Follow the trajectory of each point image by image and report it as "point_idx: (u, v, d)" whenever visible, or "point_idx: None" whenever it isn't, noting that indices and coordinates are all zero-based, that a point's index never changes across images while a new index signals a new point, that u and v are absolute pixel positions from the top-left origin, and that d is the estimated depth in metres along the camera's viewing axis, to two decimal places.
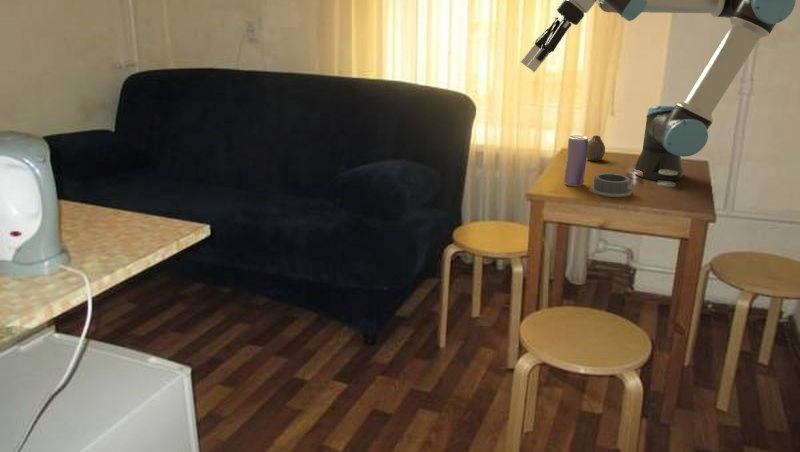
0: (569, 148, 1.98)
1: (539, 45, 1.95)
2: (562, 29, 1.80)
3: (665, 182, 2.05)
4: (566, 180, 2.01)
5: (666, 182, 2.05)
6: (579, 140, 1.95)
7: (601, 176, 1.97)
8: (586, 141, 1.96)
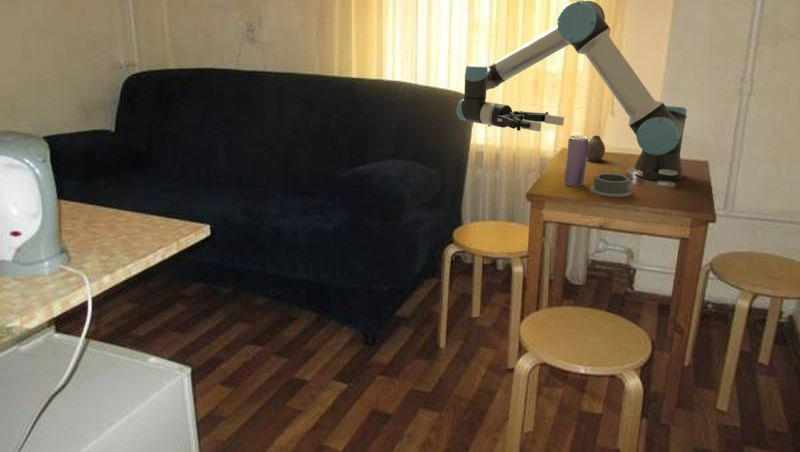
0: (569, 148, 1.98)
1: (544, 117, 2.12)
2: (502, 121, 2.07)
3: (665, 182, 2.05)
4: (566, 180, 2.01)
5: (666, 182, 2.05)
6: (579, 140, 1.95)
7: (601, 176, 1.97)
8: (586, 141, 1.96)
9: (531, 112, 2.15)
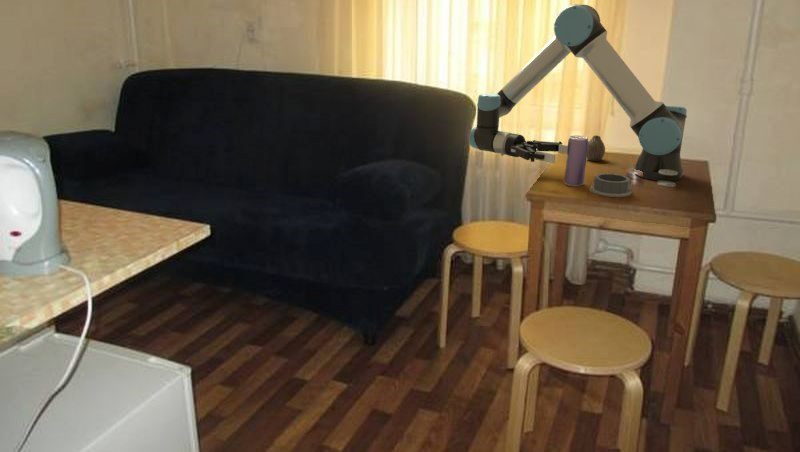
0: (569, 148, 1.98)
1: (558, 147, 2.11)
2: (516, 151, 2.06)
3: (665, 182, 2.05)
4: (566, 180, 2.01)
5: (666, 182, 2.05)
6: (579, 140, 1.95)
7: (601, 176, 1.97)
8: (586, 141, 1.96)
9: (544, 141, 2.14)
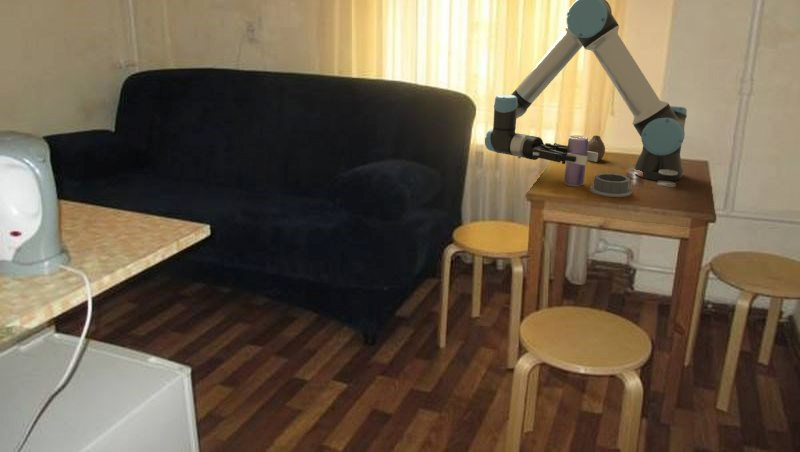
0: (569, 148, 1.97)
1: None
2: (541, 154, 2.01)
3: (665, 182, 2.05)
4: (566, 180, 2.01)
5: (666, 182, 2.05)
6: (579, 140, 1.95)
7: (601, 176, 1.97)
8: (586, 141, 1.96)
9: (564, 145, 2.08)
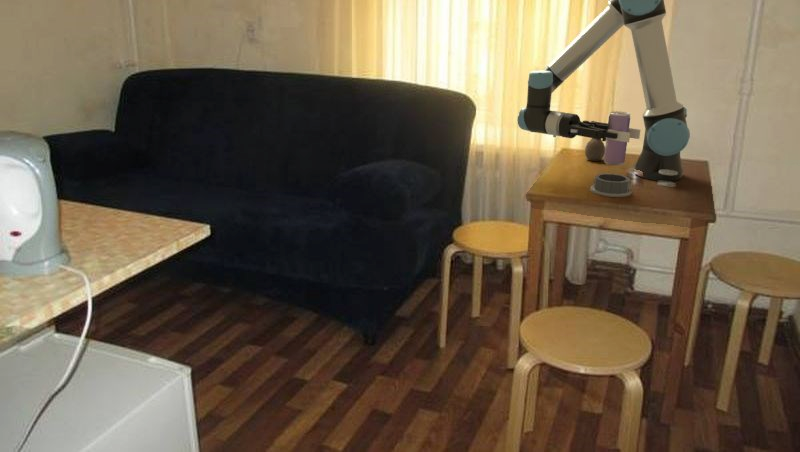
0: (610, 124, 1.87)
1: None
2: (579, 131, 1.91)
3: (665, 182, 2.05)
4: (606, 158, 1.91)
5: (666, 182, 2.05)
6: (621, 116, 1.85)
7: (601, 176, 1.97)
8: (628, 117, 1.86)
9: (603, 123, 1.98)
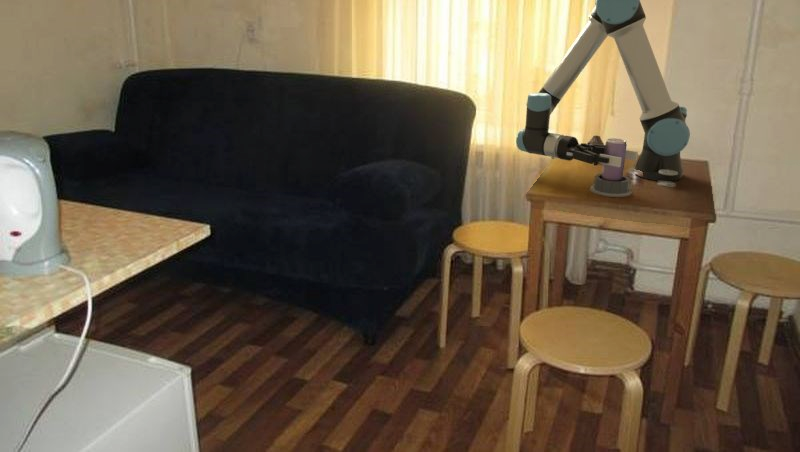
0: (606, 151, 1.90)
1: None
2: (574, 155, 1.93)
3: (665, 182, 2.05)
4: None
5: (666, 182, 2.05)
6: (617, 143, 1.87)
7: (601, 176, 1.97)
8: (624, 144, 1.88)
9: None
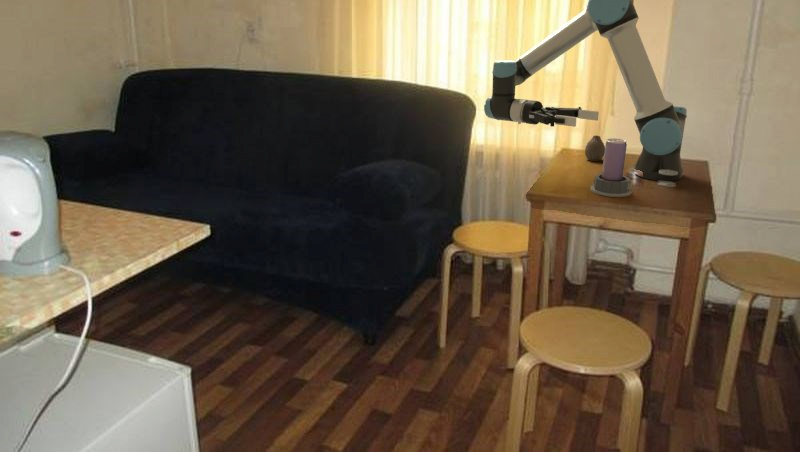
0: (607, 151, 1.90)
1: (577, 113, 2.04)
2: (535, 117, 1.99)
3: (665, 182, 2.05)
4: None
5: (666, 182, 2.05)
6: (617, 143, 1.87)
7: (601, 176, 1.97)
8: (625, 144, 1.88)
9: (563, 108, 2.08)
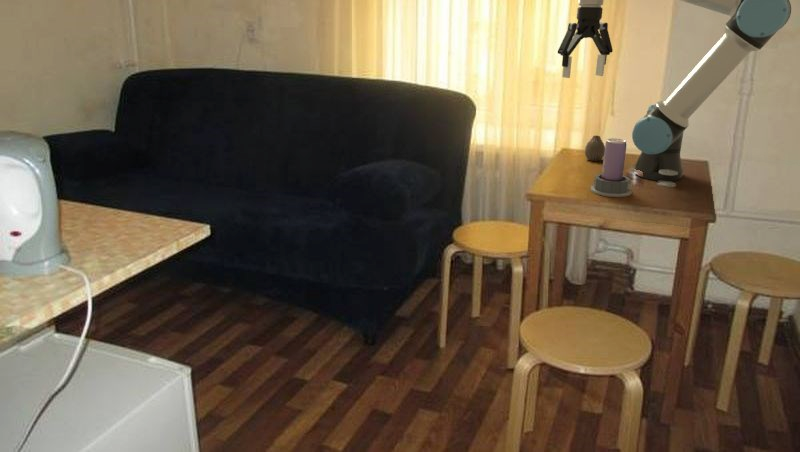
0: (606, 151, 1.90)
1: (603, 52, 2.05)
2: (569, 32, 1.97)
3: (665, 182, 2.05)
4: None
5: (666, 182, 2.05)
6: (617, 143, 1.87)
7: (601, 176, 1.97)
8: (624, 144, 1.88)
9: (607, 35, 2.02)
